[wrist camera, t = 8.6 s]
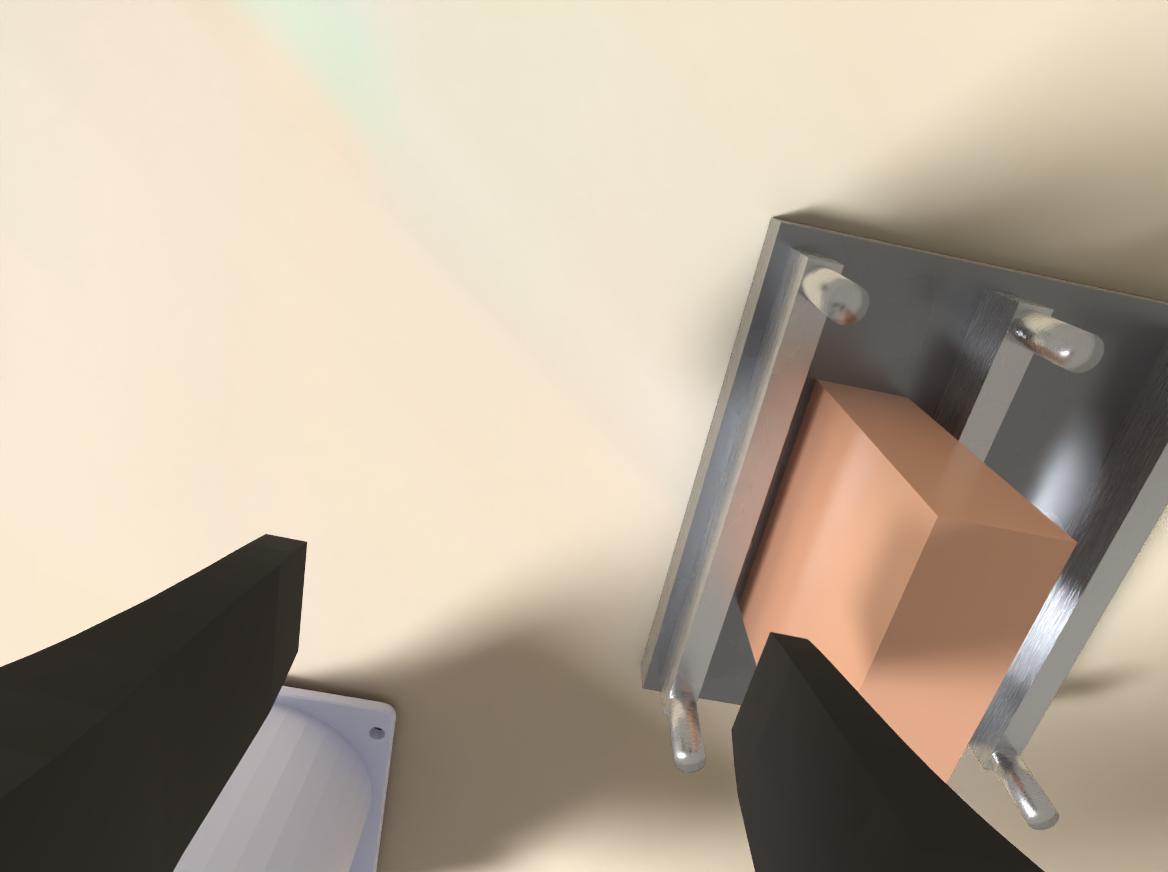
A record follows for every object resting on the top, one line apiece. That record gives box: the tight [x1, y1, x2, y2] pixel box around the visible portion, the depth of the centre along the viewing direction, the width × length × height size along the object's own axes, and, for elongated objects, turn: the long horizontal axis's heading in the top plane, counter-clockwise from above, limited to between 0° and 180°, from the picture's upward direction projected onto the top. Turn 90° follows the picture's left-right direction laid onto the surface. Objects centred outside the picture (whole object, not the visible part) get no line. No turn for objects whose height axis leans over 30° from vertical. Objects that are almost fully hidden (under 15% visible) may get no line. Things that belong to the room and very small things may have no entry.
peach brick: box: [739, 379, 1077, 784], centre depth 16 cm, size 7×2×7 cm, turn 169°
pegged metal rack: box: [641, 217, 1168, 830], centre depth 19 cm, size 14×11×4 cm
